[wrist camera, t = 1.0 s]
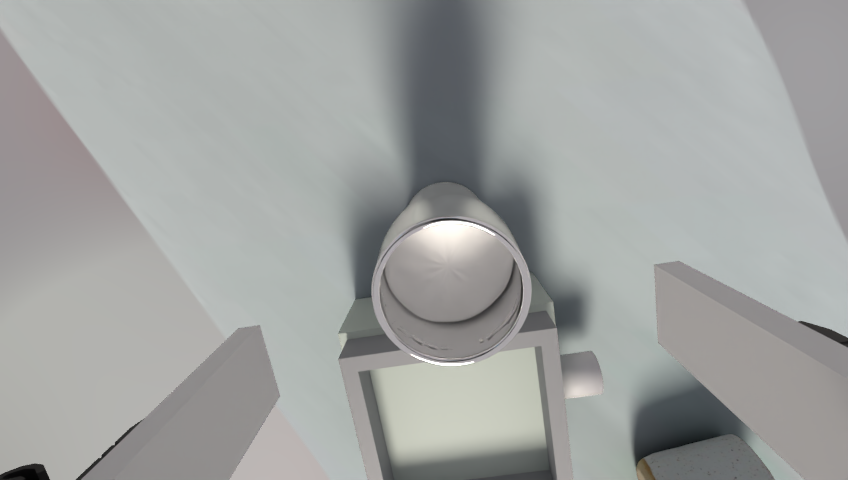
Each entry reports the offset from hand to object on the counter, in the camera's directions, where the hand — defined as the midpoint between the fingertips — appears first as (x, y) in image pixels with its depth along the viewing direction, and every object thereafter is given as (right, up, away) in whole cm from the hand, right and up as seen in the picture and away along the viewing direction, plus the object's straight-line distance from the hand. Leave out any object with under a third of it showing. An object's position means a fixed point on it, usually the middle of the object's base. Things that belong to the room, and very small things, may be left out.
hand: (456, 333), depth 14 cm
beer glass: (0, +5, +18) cm, 19 cm away
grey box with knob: (+3, -7, +20) cm, 22 cm away
